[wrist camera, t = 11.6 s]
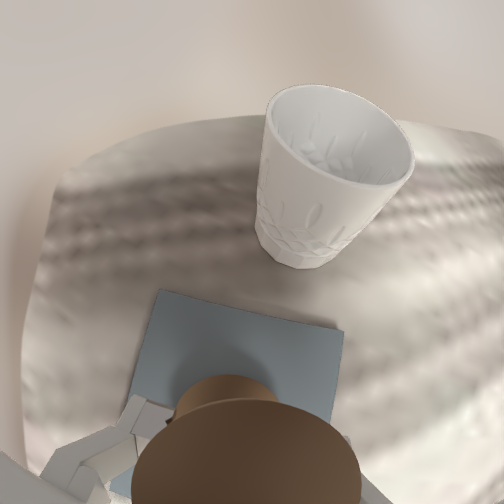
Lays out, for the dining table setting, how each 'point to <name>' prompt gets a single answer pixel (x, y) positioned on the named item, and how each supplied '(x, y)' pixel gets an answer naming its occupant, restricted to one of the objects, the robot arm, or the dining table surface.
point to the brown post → (244, 452)
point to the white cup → (325, 172)
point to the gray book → (233, 357)
